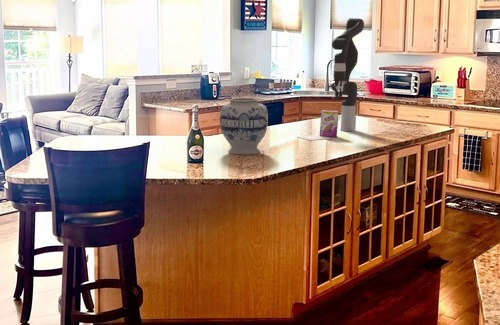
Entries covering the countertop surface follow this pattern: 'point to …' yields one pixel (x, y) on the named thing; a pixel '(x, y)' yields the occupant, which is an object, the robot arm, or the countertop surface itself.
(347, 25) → the robot arm
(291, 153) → the countertop surface
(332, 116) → the candy bar box
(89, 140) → the countertop surface
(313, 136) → the white mat
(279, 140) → the countertop surface
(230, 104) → the apothecary jar
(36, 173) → the countertop surface
